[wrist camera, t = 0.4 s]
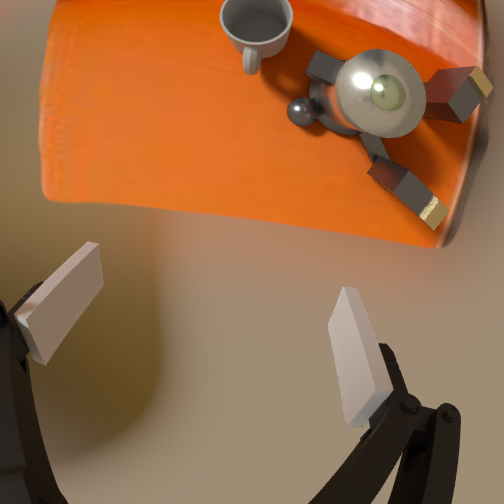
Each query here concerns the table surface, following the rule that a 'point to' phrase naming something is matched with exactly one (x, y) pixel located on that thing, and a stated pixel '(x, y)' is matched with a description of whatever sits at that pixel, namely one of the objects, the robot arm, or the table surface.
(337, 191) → the table surface
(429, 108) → the grey rectangular block
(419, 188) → the tan-tipped grey block
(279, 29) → the cup
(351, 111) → the stand
